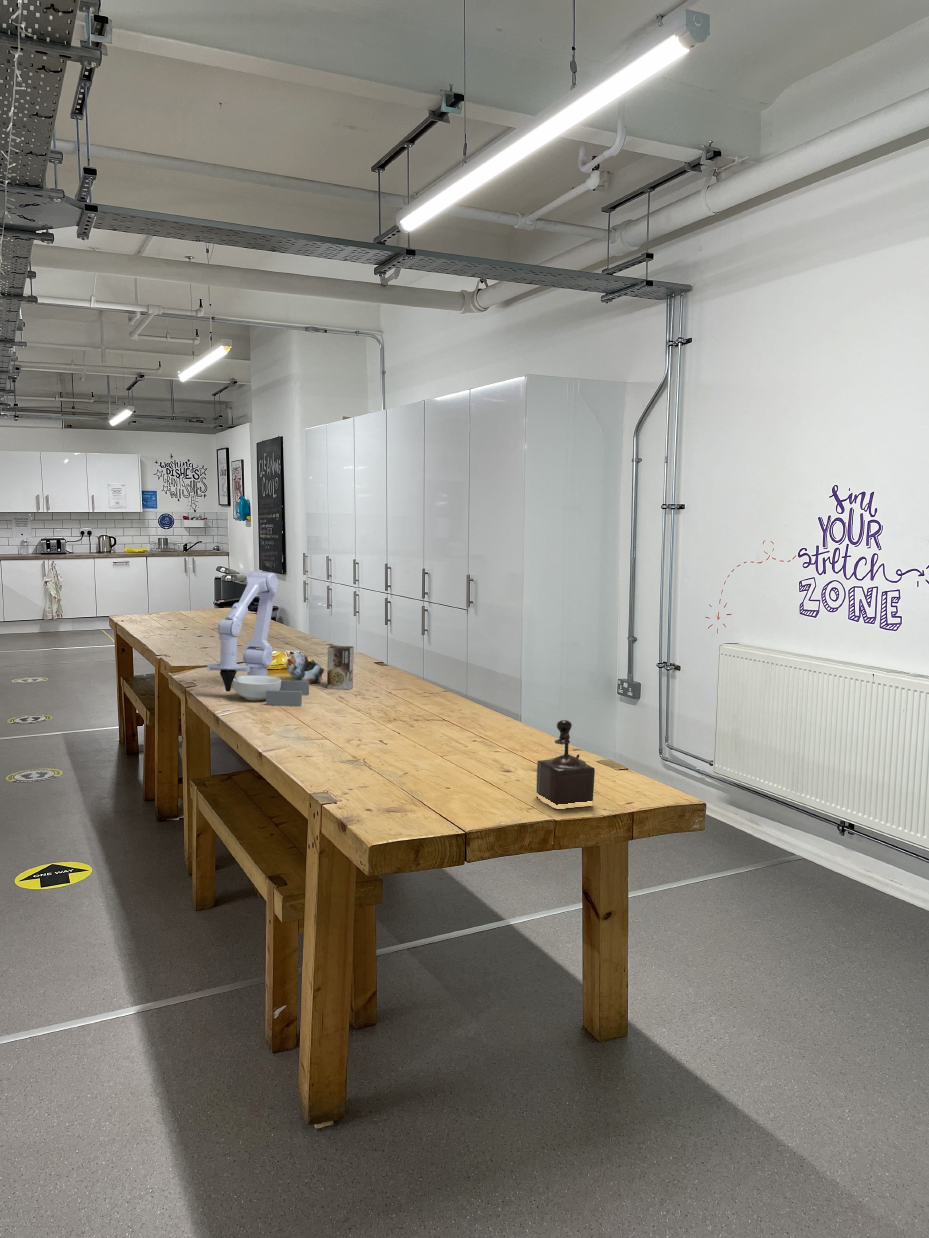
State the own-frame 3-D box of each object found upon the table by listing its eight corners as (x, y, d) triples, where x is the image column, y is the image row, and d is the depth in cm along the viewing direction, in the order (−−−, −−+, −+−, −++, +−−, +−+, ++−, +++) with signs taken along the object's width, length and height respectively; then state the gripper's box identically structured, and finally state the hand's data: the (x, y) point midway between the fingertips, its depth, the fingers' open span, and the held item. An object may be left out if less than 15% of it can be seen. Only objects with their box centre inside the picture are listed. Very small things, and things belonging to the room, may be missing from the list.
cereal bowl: (268, 705, 304) (268, 684, 304) (224, 700, 308) (224, 681, 307) (288, 696, 321) (288, 677, 320) (246, 692, 324) (246, 673, 324)
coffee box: (353, 687, 345) (354, 646, 343) (349, 690, 338) (350, 648, 337) (330, 685, 345) (331, 644, 344) (326, 688, 339) (327, 647, 337)
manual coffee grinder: (596, 806, 208) (601, 732, 207) (555, 810, 204) (559, 734, 202) (563, 787, 223) (568, 717, 221) (524, 791, 218) (528, 719, 216)
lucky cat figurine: (319, 685, 345) (303, 654, 340) (292, 694, 348) (276, 664, 343) (328, 668, 359) (313, 639, 354) (302, 677, 362) (287, 648, 357)
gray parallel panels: (276, 693, 325) (276, 679, 325) (308, 694, 326) (309, 681, 326) (266, 705, 304) (266, 690, 304) (301, 706, 305) (301, 692, 304)
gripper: (205, 654, 308) (204, 692, 309) (247, 655, 309) (246, 693, 310) (210, 651, 315) (209, 688, 316) (251, 652, 316) (250, 690, 317)
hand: (228, 690), depth 314 cm, fingers closed
